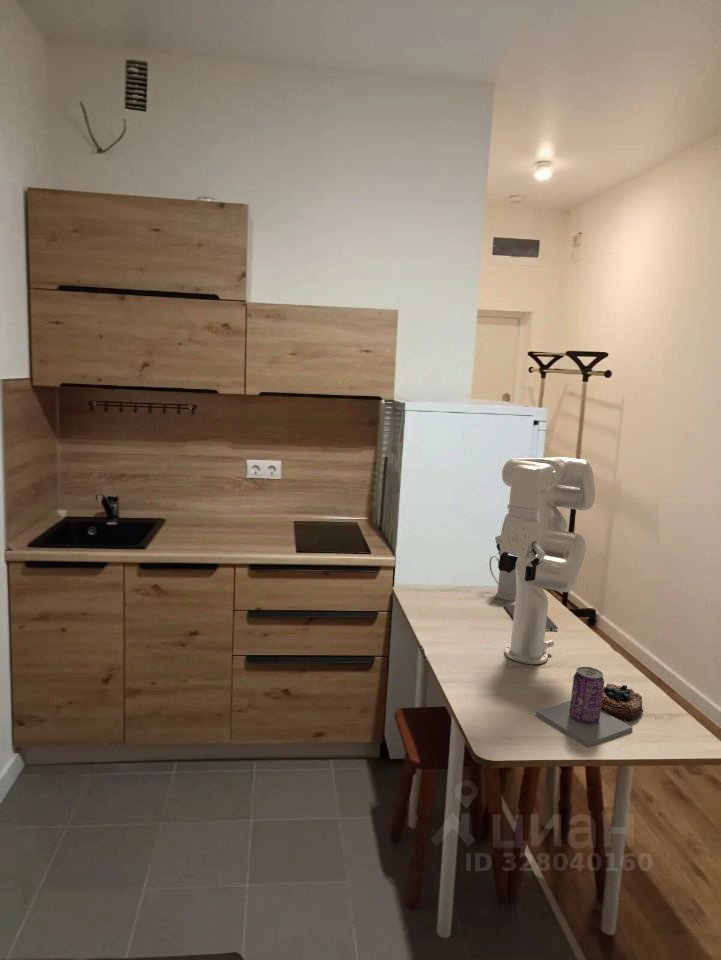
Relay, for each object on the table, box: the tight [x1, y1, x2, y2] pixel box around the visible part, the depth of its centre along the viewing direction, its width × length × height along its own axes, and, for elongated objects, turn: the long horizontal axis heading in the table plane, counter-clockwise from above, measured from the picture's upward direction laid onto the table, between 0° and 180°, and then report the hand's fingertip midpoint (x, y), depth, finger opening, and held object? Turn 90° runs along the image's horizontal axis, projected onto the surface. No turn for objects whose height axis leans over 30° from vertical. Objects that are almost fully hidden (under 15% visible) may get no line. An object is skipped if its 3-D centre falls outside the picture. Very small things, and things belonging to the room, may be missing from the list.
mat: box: [535, 700, 634, 748], centre depth 166 cm, size 16×16×1 cm
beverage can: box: [569, 666, 605, 723], centre depth 165 cm, size 7×7×12 cm
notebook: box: [503, 604, 559, 632], centre depth 235 cm, size 13×2×21 cm
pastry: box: [601, 683, 644, 723], centre depth 173 cm, size 11×12×6 cm
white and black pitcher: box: [489, 555, 518, 601], centre depth 258 cm, size 9×14×15 cm, turn 41°
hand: (516, 575), depth 180 cm, fingers open, 9 cm apart
